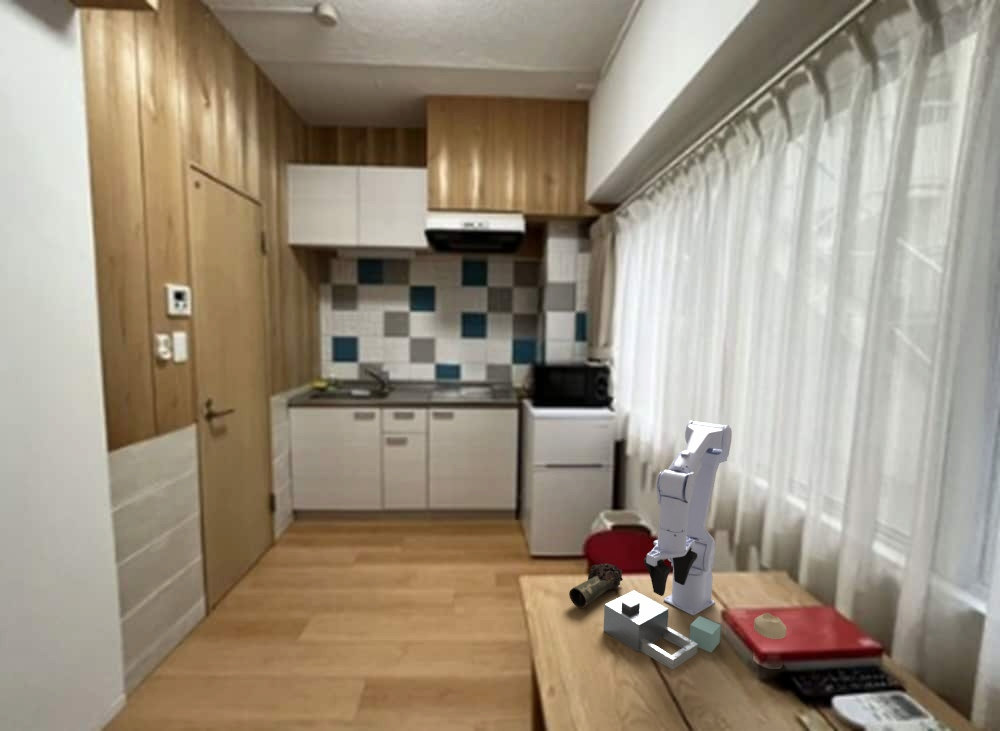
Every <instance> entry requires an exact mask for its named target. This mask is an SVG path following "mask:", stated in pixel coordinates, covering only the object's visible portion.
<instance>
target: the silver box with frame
mask: <svg viewBox="0 0 1000 731" xmlns="http://www.w3.org/2000/svg"><path fill="white" fill-rule="evenodd" d="M603 610H604V612H603V632H604V633H606V634H608V635H609V636H611V637H612V638H614V639H615V640H617V641H619V642H621V643H622V644H624V645H625V646H626V647H628V648H630V649H632V650H633V651H635V652H641V653H644V654H645V655H646V656H648V657H650V658H651V659H654V660H655V661H656V662H658V663H660V664H662V665H664V666H665V667H667V668H668V669H670V670H675V669H676V668H677V667H679V666H680V665H682V664H684V662H686V661H688V660H690V658H692V657H694V656H696V655H697V654H698V648H699V647H698V644H697V643H695V642H694V641H692V640H690V638H688V637H686V636H685V635H683V634H682V633H680V632H678V631H676V630H674V629H673V628H671V627H669V626H668V625H669V610H670V609H669V608H668V607H666V606H664V605H663V604H661V603H659V602H658V601H655V600H653V599H651V598H650V597H648V596H646V595H644V594H642V593H641V592H638V591H636V590H632V591H629V592H628V593H626V594H624V595H622V596H619V597H618V598H617V597H616V599H615V598H614V599H613V600H611V601H609V602H607V603H605V604H604V609H603ZM662 638H663V639H664V640H666V641H668V642H670V643H671V644H673V645H675V646H676V647H679V648H681V649H678V651H676V652H674V653H673V654H671V653H668V652H667V651H666V650H664V649H662V648H660V647H659V646H657V645H655V644H654V643H656V642H657V641H659V640H660V639H662Z"/></svg>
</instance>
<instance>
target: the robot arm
mask: <svg viewBox="0 0 1000 731" xmlns="http://www.w3.org/2000/svg"><path fill="white" fill-rule="evenodd" d="M684 433H685V434H684V438H685V442H686V446H685V449H684V450H681V451H680V452H678V453H676V456H675V457H674V459H673V460H672V462H671V463H670V465H669V466H668V469H664V470H661V471H660V472H659V473H658V476H657V480H656V487H655V489H656V494H657V504H658V505H659V513H658V514H659V515H658V532H657V533H658V534H657V535H658V536H657V539H655V540H654V541H653V545H654V547H653V548H652V549H651V551H649V552H648V553H647V554H646V557H644V559H643V564H644V565H645V567H646V570H647V572H648V574H649V577H650V580H651V585H652V586H651V587H652V590H653V591H652V592H653V593H654V594H656V595H658V596H660V597H663V596H664V595H665V592H666V589H667V588H666V586H667V582H668V581H667V580H668V577H669V575H670V573H671V571H672V586H671V588H672V589H671V594H670V595H668V596H666V597H664V598H663V601H664V602H665V603H668V604H669V605H671V606H674V607H675V608H677V609H678V610H681V611H683V612H684V613H686V614H688V615H691V616H695V615H697V614H698V613H701V612H702V611H704V610H705V609H708V608H709V607H711V606H713V605H714V604H716V603H715V600H713V599H712V594H713V593H712V592H713V579H714V578H713V576H714V575H713V573H712V569H713V566H714V563H715V558H716V557H715V556H716V554H715V552H716V542H715V538H714V537H713V535H712V534H710V533H709V532H708V531H707V529H706V527H707V521H708V517H709V513H710V512H709V511H710V506H711V501H712V496H713V491H714V487H715V486H714V485H715V481H716V475H717V472H718V468H719V465H720V464H721V463H725V462H726V461H728V457H729V455H730V450H731V445H732V433H733V431H732V428H731V427H730V425H729V424H718V423H711V422H710V423H709V422H704V421H695V420H689V422H688V423H687V424H686V427H685V432H684ZM665 560H668V561H669V562H671V563H670V564H671V565H670V566H669V565H666V562H665ZM672 569H673V570H672Z"/></svg>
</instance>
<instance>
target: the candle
mask: <svg viewBox="0 0 1000 731" xmlns="http://www.w3.org/2000/svg"><path fill="white" fill-rule="evenodd" d="M753 622H754V624H753V625H754V626H753V630H754V629H755V631H757V632H758V633H759V634H761V635H762V636H764V637H767V638H771V639H782V638H784V637H785V636H786V637H787V626H786V625H785V624H784V622H783V621H782V620H781V619H780V617H779V616H774V615H772V614H771V613H769V612H764V613H763V614H761V615H757V617H755V618H754V621H753Z"/></svg>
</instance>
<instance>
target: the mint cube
mask: <svg viewBox="0 0 1000 731" xmlns="http://www.w3.org/2000/svg"><path fill="white" fill-rule="evenodd" d="M721 635H722V623H720V622H717V621H715V620H713V619H710V618H708V617H705V616H703V615H701V614H699V616H698V617H696V618H695V620H694V621H692V623H690V626H689V639H690V640H692V641H694V642H695V643H697V644H698V648H699V649H700V650H701V649H702V650H704V651H706V652H708V653H712V652H713V651H714V650H715V649H716V647H718V645H719V644H720V643H721V638H722V636H721Z"/></svg>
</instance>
